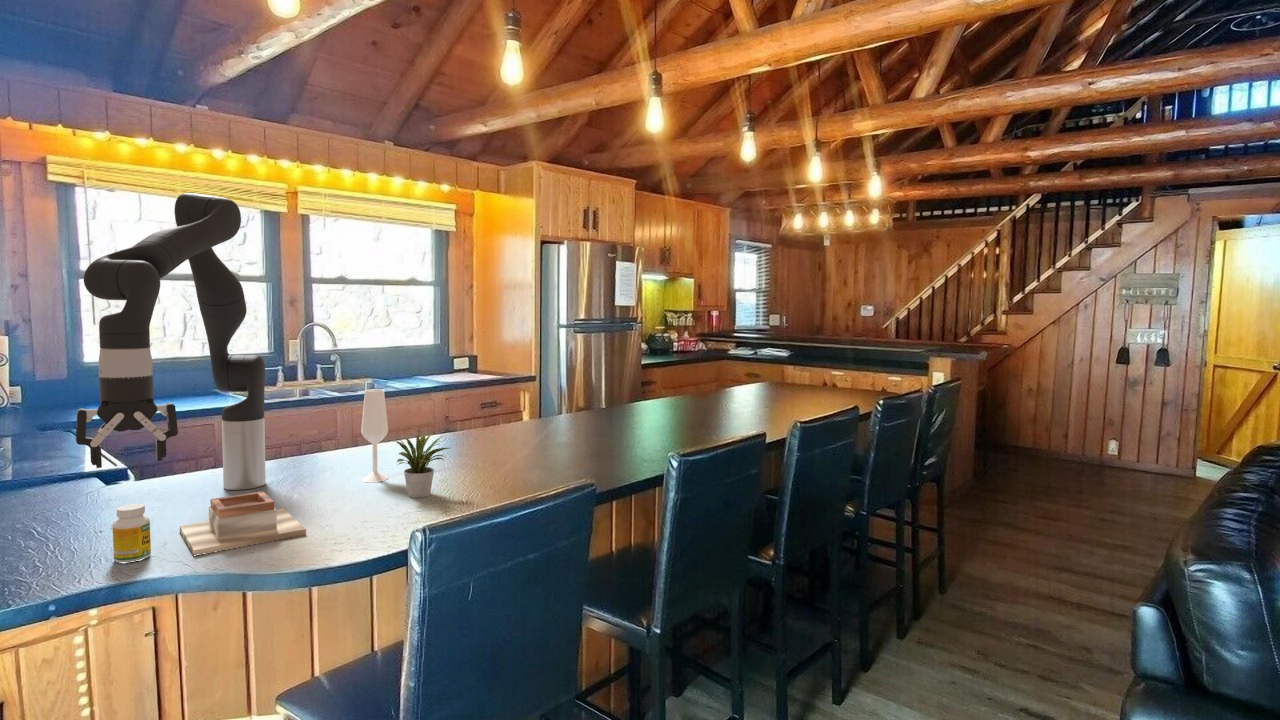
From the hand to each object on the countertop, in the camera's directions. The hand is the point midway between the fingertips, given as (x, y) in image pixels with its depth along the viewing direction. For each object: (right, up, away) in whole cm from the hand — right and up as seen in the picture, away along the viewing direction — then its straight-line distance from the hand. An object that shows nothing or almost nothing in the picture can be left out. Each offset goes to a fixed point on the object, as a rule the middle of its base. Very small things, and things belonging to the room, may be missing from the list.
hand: (129, 463), depth 118 cm
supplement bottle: (0, -18, +1) cm, 18 cm away
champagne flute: (+20, -14, +59) cm, 64 cm away
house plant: (+36, -15, +44) cm, 59 cm away
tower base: (+11, -17, +16) cm, 25 cm away
